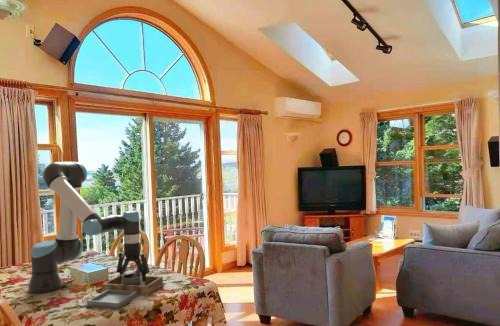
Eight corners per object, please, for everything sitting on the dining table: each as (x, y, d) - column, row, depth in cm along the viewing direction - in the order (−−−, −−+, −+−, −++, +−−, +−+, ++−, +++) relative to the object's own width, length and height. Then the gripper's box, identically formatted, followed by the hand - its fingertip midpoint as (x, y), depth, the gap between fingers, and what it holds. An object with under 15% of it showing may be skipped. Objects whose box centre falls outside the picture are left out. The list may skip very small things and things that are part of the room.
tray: (87, 306, 173) (87, 300, 173) (108, 294, 188) (108, 289, 188) (118, 309, 169) (117, 303, 169) (137, 296, 184) (137, 291, 184)
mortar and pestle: (128, 294, 187) (127, 269, 187) (118, 290, 194) (118, 266, 194) (149, 288, 195) (148, 264, 195) (139, 284, 202) (138, 261, 202)
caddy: (102, 293, 190) (102, 283, 190) (121, 282, 205) (121, 274, 205) (146, 296, 184) (146, 286, 184) (163, 285, 199) (162, 276, 199)
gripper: (107, 243, 194) (109, 288, 194) (148, 244, 188) (149, 290, 188) (116, 240, 201) (118, 283, 201) (156, 241, 195) (157, 285, 195)
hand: (133, 286), depth 195 cm, fingers closed on mortar and pestle, 10 cm apart
